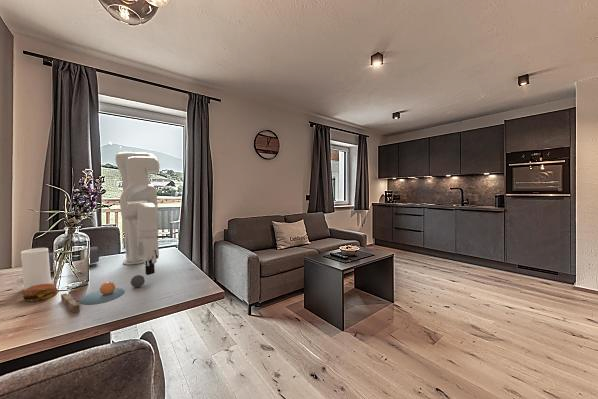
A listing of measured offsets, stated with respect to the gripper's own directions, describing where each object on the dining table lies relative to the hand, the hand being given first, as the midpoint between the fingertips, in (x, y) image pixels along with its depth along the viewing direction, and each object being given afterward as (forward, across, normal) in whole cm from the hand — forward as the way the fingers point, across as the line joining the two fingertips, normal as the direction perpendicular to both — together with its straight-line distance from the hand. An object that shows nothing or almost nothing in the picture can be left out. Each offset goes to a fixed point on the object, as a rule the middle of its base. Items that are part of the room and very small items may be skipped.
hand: (150, 273), depth 118 cm
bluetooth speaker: (+5, -51, -16) cm, 54 cm away
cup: (+4, -33, -31) cm, 46 cm away
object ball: (+1, +1, -16) cm, 17 cm away
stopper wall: (+3, +1, -28) cm, 28 cm away
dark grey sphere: (+1, +3, -6) cm, 7 cm away
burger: (+4, -18, -33) cm, 38 cm away
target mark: (+3, +1, -18) cm, 18 cm away
